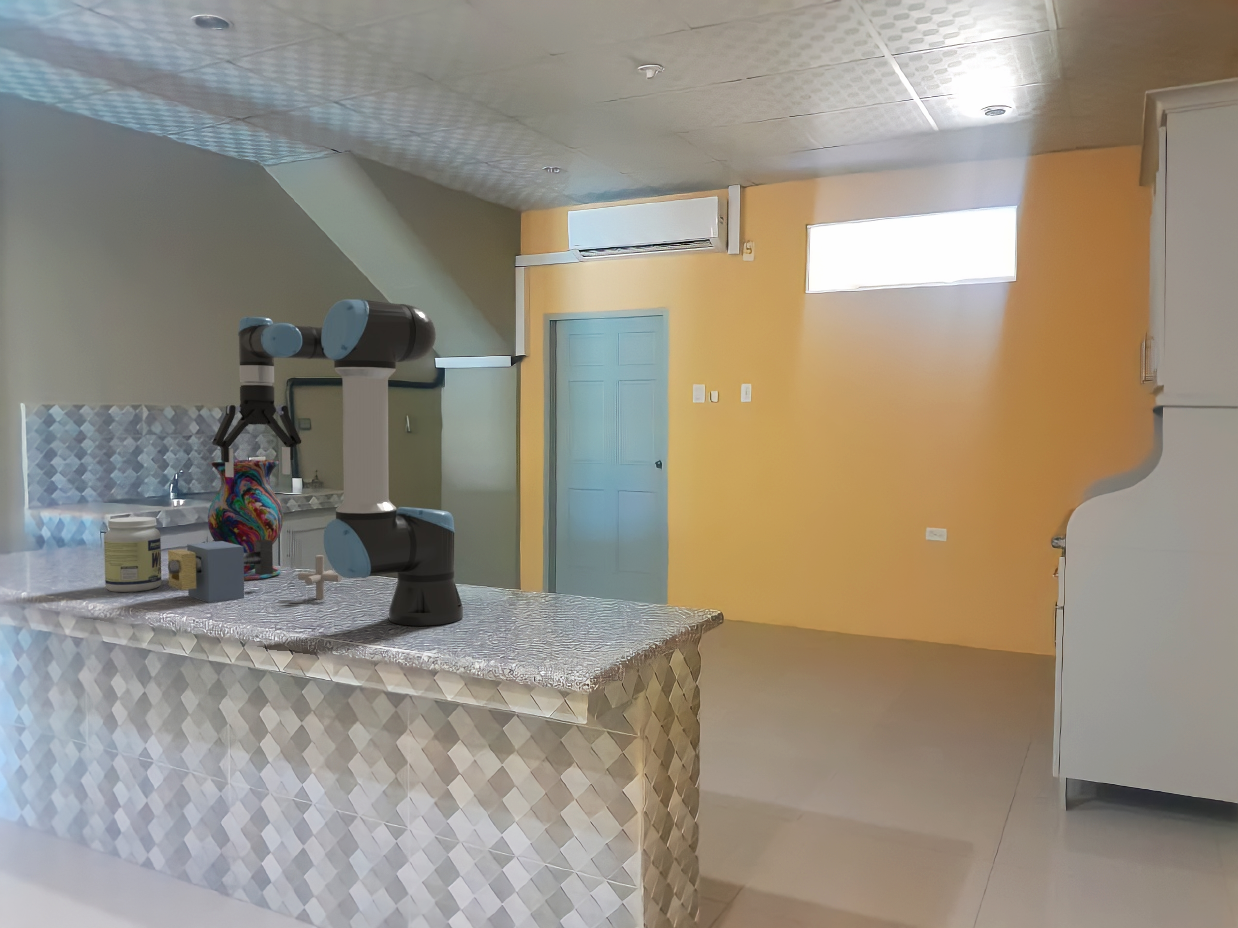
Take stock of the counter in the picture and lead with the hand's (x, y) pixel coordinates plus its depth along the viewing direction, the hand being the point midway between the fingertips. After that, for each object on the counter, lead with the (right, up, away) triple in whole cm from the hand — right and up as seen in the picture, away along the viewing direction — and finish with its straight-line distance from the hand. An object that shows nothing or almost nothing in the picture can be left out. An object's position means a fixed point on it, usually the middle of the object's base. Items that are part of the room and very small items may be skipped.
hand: (258, 475), depth 219 cm
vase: (-13, -27, +26) cm, 39 cm away
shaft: (-8, -24, -1) cm, 25 cm away
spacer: (-14, -21, -8) cm, 27 cm away
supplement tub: (-33, -28, +8) cm, 44 cm away
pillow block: (-9, -28, -2) cm, 30 cm away
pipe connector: (+16, -29, -4) cm, 33 cm away
